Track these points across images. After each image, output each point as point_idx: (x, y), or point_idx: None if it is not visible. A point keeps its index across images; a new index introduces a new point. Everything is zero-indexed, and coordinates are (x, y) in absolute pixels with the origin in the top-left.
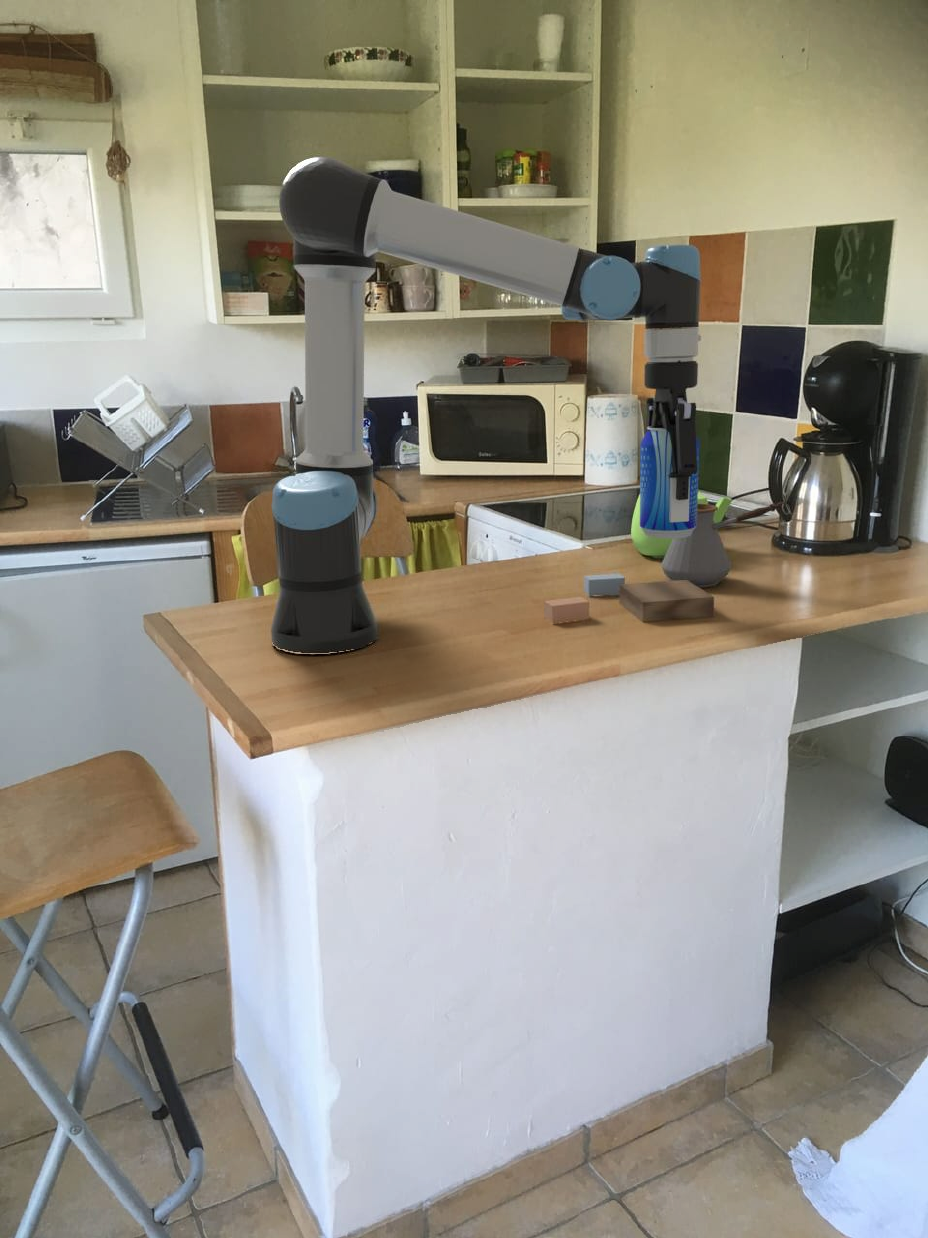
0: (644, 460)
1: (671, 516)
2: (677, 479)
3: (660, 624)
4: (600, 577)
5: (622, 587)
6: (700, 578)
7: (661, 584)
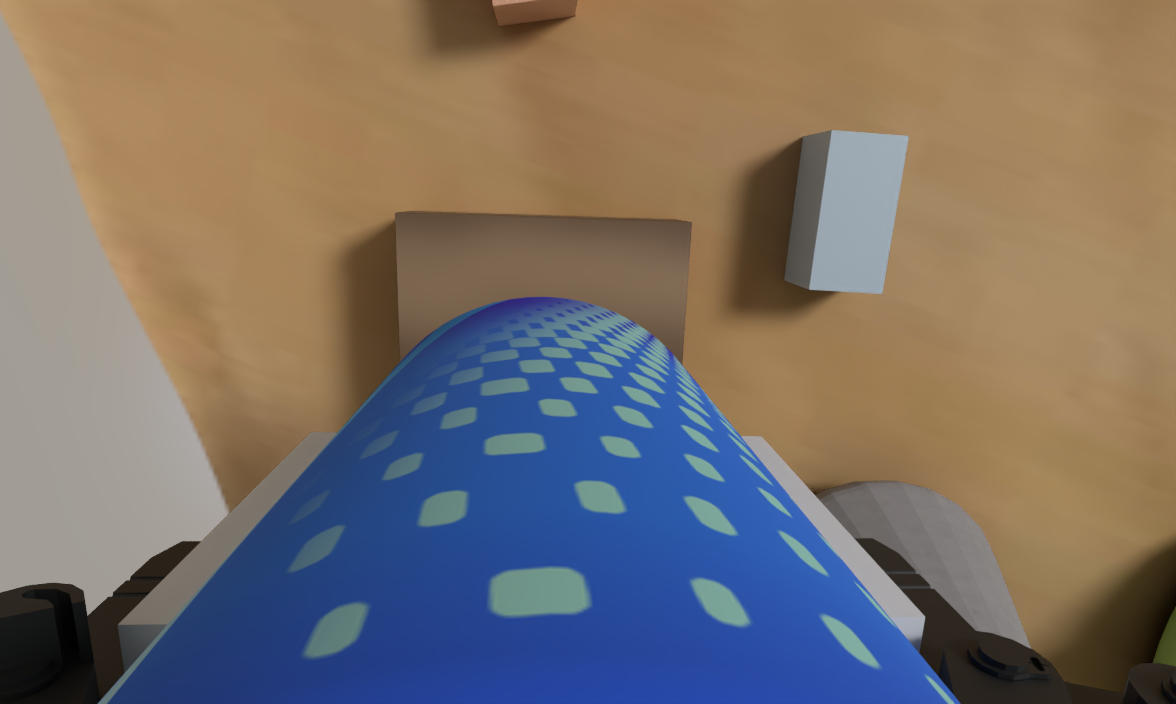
0: (441, 483)
1: (295, 448)
2: (100, 660)
3: (369, 261)
4: (852, 193)
5: (655, 221)
6: None
7: None
